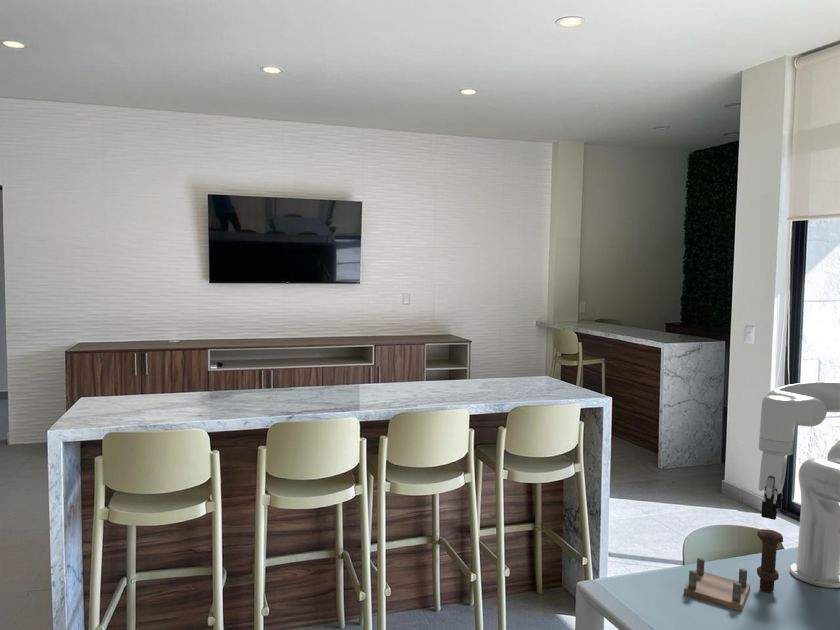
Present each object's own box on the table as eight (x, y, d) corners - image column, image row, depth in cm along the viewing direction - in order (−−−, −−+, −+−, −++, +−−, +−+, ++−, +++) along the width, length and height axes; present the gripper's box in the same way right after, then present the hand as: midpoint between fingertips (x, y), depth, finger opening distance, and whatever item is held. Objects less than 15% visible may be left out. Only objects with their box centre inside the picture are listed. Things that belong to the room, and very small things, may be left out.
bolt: (781, 597, 158) (785, 538, 157) (759, 594, 159) (763, 536, 158) (773, 586, 164) (777, 529, 163) (752, 583, 165) (755, 527, 164)
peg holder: (695, 575, 169) (696, 554, 168) (749, 590, 161) (751, 569, 161) (683, 594, 158) (685, 573, 158) (741, 611, 151) (743, 589, 150)
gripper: (763, 436, 168) (758, 499, 169) (754, 449, 154) (749, 518, 155) (796, 441, 164) (791, 506, 165) (789, 455, 150) (784, 526, 151)
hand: (770, 512), depth 160 cm, fingers open, 9 cm apart
